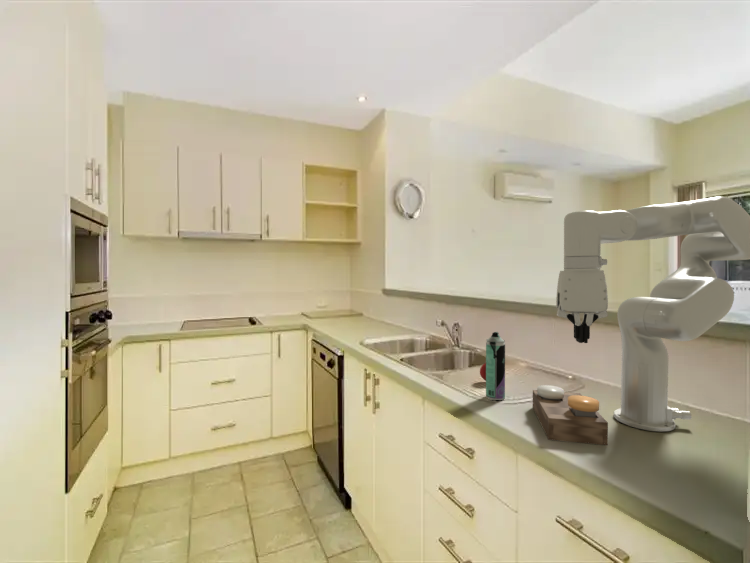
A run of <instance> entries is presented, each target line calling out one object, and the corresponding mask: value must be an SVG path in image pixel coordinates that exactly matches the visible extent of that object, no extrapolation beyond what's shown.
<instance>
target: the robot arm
mask: <svg viewBox="0 0 750 563" xmlns="http://www.w3.org/2000/svg"><path fill="white" fill-rule="evenodd" d="M684 235H685V237H684V238H683V240H682V241H681V245H680V266H679V267H678V269H676V270H675V271H673V272H672V273H671V274H669V275H668V276H666V277H665V278H664V279H662V280H661V281H660V282H659V283H657V284H656V285H655V286H654V287H653V288H652V290H651V292H650V295H649V296H635V297H630V298H627V299H625V300H624V301H622V302H621V303H620V305H619V307H618V309H617V315H616V316H617V322H618V327H619V332H620V338H621V377H620V378H621V380H620V381H621V384H620V385H621V386H620V388H621V389H620V390H621V391H620V393H621V394H620V395H621V396H620V397H621V398H620V407H619V408H617V409H615V410H614V411H613V417H614V419H616V420H617V421H618V422H620V423H622V424H623V425H626V426H629V427H632V428H635V429H639V430H645V431H650V432H661V433H662V432H670V431H673V430H675V429H676V421H674V420H677V419H680V420H692V413H691V411H689V410H688V411H686V410H680V409H679V408H676V407H670V406H669V405H668V402H669V401H668V400H669V399H668V397H669V393H668V392H669V353H668V349H667V347H666V345H665V343H664V340H663V339H667V340H673V341H678V342H679V341H680V342H690V341H692V340H696V339H698V338H699V337H701V336H702V335H703V334H705V333H706V332H707V331H708V330H710V329H711V328H712V327H714V326H715V324H717V323H718V322H719V321H721V320H722V319H723V318H724V317H726V316H727V315H728V313H729V312H730V311H731V309H732V307H733V304H734V300H735V294H734V293H735V292H734V290H733V287H732V285H731V284H730V283H729V282H727V281H726V280H724V279H723V278H719V277H718V276H717V273H716V271H715V270H714V268H713V267H712V266H711V265H710V262H711V261H712V262H714V261H716V262H719V261H745V260H746V261H747V260H750V214H749V213H748V212H747V211H746V210H745V208H743V207H742V205H740V204H738V203H737V202H736V201H735V200H733V199H731V198H729V197H726V196H722V195H721V196H714V197H708V198H700V199H695V200H688V201H680V202H672V203H671V202H670V203H661V204H651V205H644V206H640V207H635V208H631V209H626V210H622V209H618V210H617V209H615V210H608V211H595V210H580V211H573V212H569V213H567V214H566V215H565V216H564V220H563V270H560V271H559V273H558V279H557V288H556V297H555V298H556V299H555V301H556V302H555V303H556V309H557V311H556V316H558V317H559V318H564V319H566V320H568V321H569V322H571V324H572V325H573V338H574V339H575V341H576V342H577V343H579V344H583V343H584V344H587V343H589V342H588V340H589V339H591V338H590V336H591V334H590V332H591V331H590V330H591V329H590V328H591V326H592V325H593V324H594V323H595V321H597V320H599V319H604V318H607V317H608V316H609V314H608V304H609V298H608V286H607V279H606V274H605V271H604V270H602V269H601V268H602V266H607V265H608V260H607V259H606V258H605V259H604V258H602V256H601V254H602V253H601V249H602V248H601V244H613V243H622V242H625V241H628V242H629V241H647V240H657V239H665V238H672V237H678V236H684ZM580 313H582V314H583V315H582V322H581V316H580Z"/></svg>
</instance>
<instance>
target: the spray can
mask: <svg viewBox="0 0 750 563" xmlns="http://www.w3.org/2000/svg"><path fill="white" fill-rule="evenodd" d="M505 342H506V341H505V340H504V339H503V338H502V337H501V336H500V334H499V332H498V331H494V332H492V335H490V337H489V338H487V339H486V340H485V363H486V381H485V398H486V397H487V398H489V399H492V400H503V401H505V400H506V343H505ZM487 398H486V399H487ZM489 399H488V400H489ZM504 399H505V400H504ZM492 400H491V401H492Z"/></svg>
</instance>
